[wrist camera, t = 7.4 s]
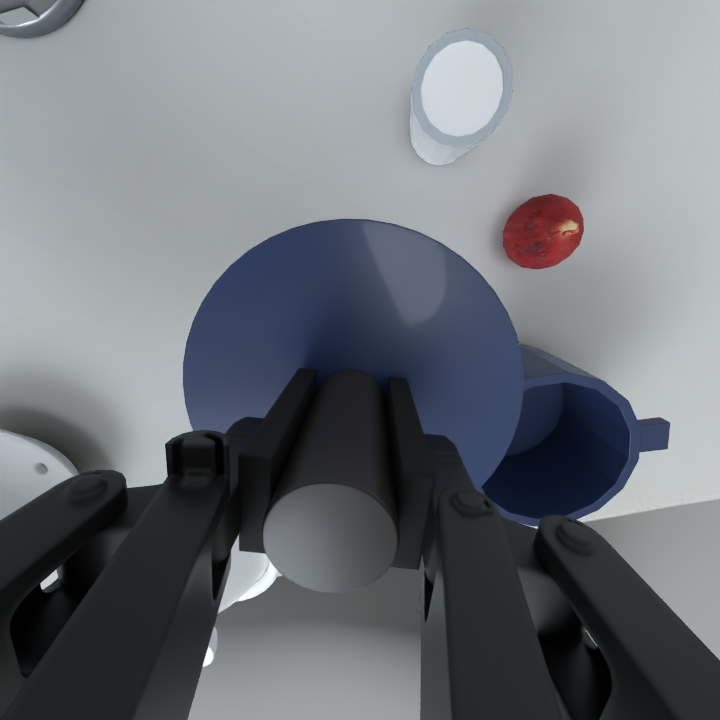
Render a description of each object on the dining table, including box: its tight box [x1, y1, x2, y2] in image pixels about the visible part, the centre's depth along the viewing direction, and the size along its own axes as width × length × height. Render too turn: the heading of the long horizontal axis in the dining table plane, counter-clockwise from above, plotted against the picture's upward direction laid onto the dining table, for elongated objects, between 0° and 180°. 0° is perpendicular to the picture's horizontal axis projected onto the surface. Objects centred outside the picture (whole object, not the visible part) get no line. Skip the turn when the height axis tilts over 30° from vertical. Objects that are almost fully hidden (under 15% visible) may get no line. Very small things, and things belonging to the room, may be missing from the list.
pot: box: [478, 344, 670, 526], centre depth 31 cm, size 14×19×10 cm
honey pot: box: [203, 535, 279, 667], centre depth 31 cm, size 13×13×18 cm
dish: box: [0, 429, 80, 520], centre depth 38 cm, size 18×14×5 cm
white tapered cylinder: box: [410, 28, 513, 166], centre depth 26 cm, size 7×7×7 cm
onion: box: [503, 194, 584, 269], centre depth 28 cm, size 6×6×8 cm
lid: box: [183, 219, 524, 593], centre depth 11 cm, size 15×15×9 cm
